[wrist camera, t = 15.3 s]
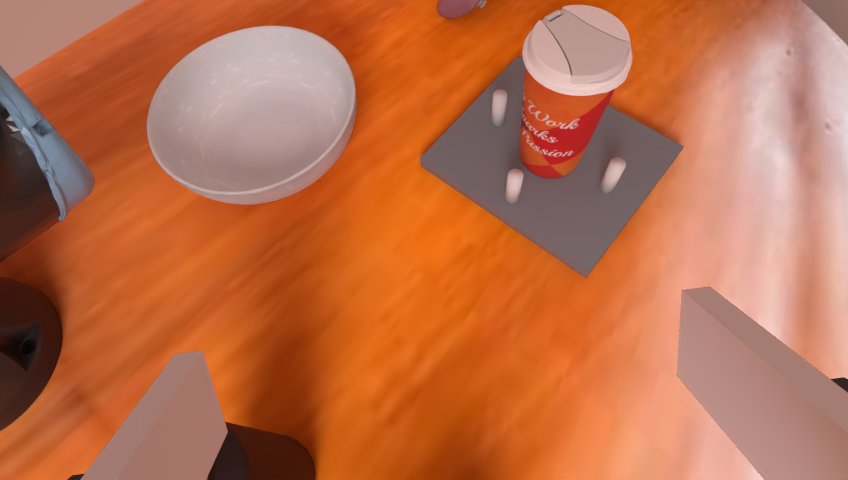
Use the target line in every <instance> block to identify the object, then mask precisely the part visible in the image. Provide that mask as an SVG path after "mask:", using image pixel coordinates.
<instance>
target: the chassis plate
mask: <svg viewBox="0 0 848 480" xmlns="http://www.w3.org/2000/svg"><path fill="white" fill-rule="evenodd" d="M524 79H525V64H524V61H523V58H521V57H520V56H517V57H516V58H515V59H514V60H513V62H512V63H511V64H510V65H509V66H508V67H507V68H506V69H505V70H504V71H503V72H502V73H501V74H500V75H499V76H498V77H497V78H496V79H495V80H494V81H493V82H492V83H491V85H490V86H489V87H488V88H487V89H486V90H485V91H484V92H483V93H482V94H481V95H480V96H479V97H478V98H477V99H476V100H475V101H474V102H473V103H472V104H471V105H470V106H469V107H468V109H467V110H466V111H465V112H464V113H463V114H462V115H461V116H460V117H459V118H458V119H457V120H456V121H455V122H454V123H453V124H452V125H451V126H450V127H449V128H448V129H447V130H446V132H445V133H444V134H443V135H442V136H441V137H440V138H439V139H438V140H437V141H436V142H435V143H434V144H433V145H432V146H431V147H430V148H429V149H428V150H427V151H426V152H425V153H424V154H423V156H422V157H421V158H420V162H421V166H422V167H423V168H425V169H426V170H428V171H429V172H430V173H432V174H433V175H435V176H436V177H438V178H439V179H441V180H442V181H444V182H445V183H447V184H448V185H450V186H451V187H453V188H454V189H456V190H457V191H459V192H460V193H462V194H463V195H464V196H466V197H467V198H469V199H470V200H472V201H473V202H475V203H476V204H478V205H479V206H481V207H482V208H484V209H485V210H487V211H488V212H490V213H491V214H493V215H494V216H495V217H497V218H498V219H500V220H501V221H503V222H504V223H506V224H507V225H509V226H510V227H512V228H513V229H515V230H516V231H518V232H519V233H521V234H522V235H524V236H525V237H526V238H528V239H529V240H531V241H532V242H534V243H535V244H537V245H538V246H540V247H541V248H543V249H544V250H546V251H547V252H549V253H550V254H552V255H553V256H555V257H556V258H558V259H559V260H560V261H562V262H563V263H565V264H566V265H568V266H569V267H571V268H572V269H574V270H575V271H577V272H578V273H580V274H581V275H583V276H584V277H587V276H588V275H589V273H590V272H591V271H592V269H593V268H594V267H595V265H596V264H597V263H598V261H599V260H600V259H601V257H602V256H603V255H604V253H605V252H606V251H607V249H608V248H609V247H610V245H611V244H612V243H613V241H614V240H615V239H616V237H617V236H618V235H619V233H620V232H621V231H622V229H623V228H624V227H625V225H626V224H627V223H628V221H629V220H630V219H631V217H632V216H633V215H634V213H635V212H636V211H637V209H638V208H639V207H640V205H641V204H642V203H643V201H644V200H645V199H646V197H647V196H648V195H649V193H650V192H651V191H652V189H653V188H654V187H655V185H656V184H657V183H658V181H659V180H660V179H661V177H662V176H663V175H664V173H665V172H666V171H667V169H668V168H669V167H670V165H671V164H672V163H673V161H674V160H675V159H676V157H677V156H678V155H679V153H680V152H681V150H682V149H683V147H684V146H682V145H680V144H679V143H677V142H675V141H673V140H671V139H669V138H668V137H666V136H664V135H662V134H660V133H658V132H657V131H655V130H653V129H651V128H649V127H648V126H646V125H644V124H642V123H640V122H638V121H637V120H635V119H633V118H631V117H629V116H627V115H626V114H624V113H622V112H620V111H618V110H616V109H615V108H613V107H611V106H609V105H607V107H606V109H605V111H604V113H603V115H602V117H601V119H600V121H599V123H598V125H597V127H596V129H595V131H594V133H593V135H592V137H591V139H590V141H589V143H588V145H587V147H586V149H585V151H584V153H583V155H582V157H581V159H580V161H579V163H578V164H577V166H576V167H575V169H574V170H573V171H572V172H570V173H569V174H567V175H565V176H563V177H560V178H554V179H548V178H542V177H539V176H537V175H535V174H533V173H531V172H530V171H529V170H528V169H527V168H526V167H525V166H524V165H523V163H522V161H521V157H520V133H521V118H522V105H523V92H524Z"/></svg>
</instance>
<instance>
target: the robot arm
mask: <svg viewBox="0 0 848 480" xmlns="http://www.w3.org/2000/svg"><path fill="white" fill-rule="evenodd" d="M94 183H95V180H94V176H93V173H92V171H91V170H90V169H89V167H88V166H87V165H86V164H85V163H84V162H83V160H82V159H81V158H80V157H79V156H78V155H77V153H76V152H75V151H74V150H73V149H72V148H71V147H70V145H69V144H68V143H67V142H66V141H65V140H64V138H63V137H62V136H61V135H60V134H59V133H58V132H57V130H56V129H55V128H54V127H53V126H52V125H51V123H50V122H49V121H48V120H47V119H46V118H45V117H44V115H43V114H42V113H41V112H40V111H39V110H38V109H37V107H36V106H35V105H34V104H33V103H32V102H31V101H30V99H29V98H28V97H27V96H26V95H25V94H24V92H23V91H22V90H21V89H20V88H19V87H18V85H17V84H16V83H15V82H14V81H13V80H12V79H11V78H10V76H9V75H8V74H7V73H6V72H5V71H4V69H3V68H2V67H1V66H0V262H2V261H3V260H5V259H6V258H7V257H9V256H10V255H12V254H13V253H15V252H16V251H17V250H19V249H20V248H22V247H23V246H25V245H26V244H27V243H29V242H30V241H32V240H33V239H34V238H36V237H37V236H39V235H40V234H42V233H43V232H44V231H46V230H47V229H49V228H50V227H52V226H53V225H54V224H56V223H57V222H59V221H62V220H63V219H65V217H66V216H67V213H68V212H69V211H70V210H72V209H73V208H74V207H75V206H77V205H78V204H79V203H80V202H81V201H83V200H84V199H85V198H86V197H88V196H89V195H90V193H91V192H92V190H93V188H94ZM60 344H61V326H60V321H59V317H58V314H57V312H56V310H55V308H54V306H53V305H52V303H51V302H50V301H49V299H48V298H47V297H46V296H45V295H43V294H42V293H41V292H39V291H38V290H36V289H34V288H31V287H29V286H27V285H25V284H22V283H20V282H18V281H15V280H12V279H8V278H3V277H0V431H1V430H2V429H4V428H5V427H7V426H8V425H10V424H11V423H12V422H14V421H15V420H16V419H17V418H18V417H19V416H21V415H22V414H23V413H24V412H25V411H26V410H27V409H28V408H29V407H30V406H31V404H32V403H33V402H34V401H35V400H36V398H37V397H38V396H39V394H40V393H41V392H42V390H43V389H44V387H45V385H46V384H47V382H48V380H49V378H50V376H51V374H52V372H53V370H54V367H55V365H56V362H57V359H58V355H59V351H60ZM677 376H678V378H679V379H680V380H681V381H682V382H683V384H684V385H685V386H686V387H687V388H688V390H689V391H690V392H691V393H692V394H693V395H694V397H695V398H696V399H697V400H698V401H699V403H700V404H701V405H702V406H703V407H704V409H705V410H706V411H707V412H708V413H709V414H710V416H711V417H712V418H713V419H714V420H715V422H716V423H717V424H718V425H719V426H720V428H721V429H722V430H723V431H724V432H725V433H726V435H727V436H728V437H729V438H730V439H731V441H732V442H733V443H734V444H735V445H736V447H737V448H738V449H739V450H740V451H741V452H742V454H743V455H744V456H745V457H746V458H747V460H748V461H749V462H750V463H751V464H752V466H753V467H754V468H755V469H756V470H757V471H758V473H759V474H760V475H761V476H762V477H763V479H764V480H848V379H846V378H836V379H829V378H828V377H827V376H825V375H824V374H823V373H821V372H820V371H819V370H818V369H816V368H815V367H814V366H812V365H811V364H810V363H808V362H807V361H806V360H805V359H803V358H802V357H801V356H799V355H798V354H797V353H795V352H794V351H793V350H792V349H790V348H789V347H788V346H786V345H785V344H784V343H782V342H781V341H780V340H779V339H777V338H776V337H775V336H773V335H772V334H771V333H769V332H768V331H767V330H766V329H764V328H763V327H762V326H760V325H759V324H758V323H756V322H755V321H754V320H753V319H751V318H750V317H749V316H747V315H746V314H745V313H743V312H742V311H741V310H740V309H738V308H737V307H736V306H734V305H733V304H732V303H730V302H729V301H728V300H727V299H725V298H724V297H723V296H721V295H720V294H719V293H717V292H716V291H715V290H714V289H712V288H711V287H703V288H695V289H687V290H682V295H681V312H680V329H679V347H678V364H677ZM227 433H228V430H227V427H226V424H225V421H224V418H223V414H222V411H221V408H220V405H219V402H218V398H217V395H216V392H215V389H214V386H213V382H212V379H211V376H210V373H209V370H208V366H207V363H206V360H205V357H204V354H203V351H196V352H188V353H180V354H175V355H174V356H173V357H172V359H171V360H170V361H169V362H168V364H167V365H166V366H165V368H164V369H163V370H162V372H161V373H160V374H159V376H158V377H157V378H156V380H155V381H154V382H153V384H152V385H151V386H150V388H149V389H148V390H147V392H146V393H145V394H144V396H143V397H142V398H141V400H140V401H139V402H138V404H137V405H136V406H135V408H134V409H133V410H132V412H131V413H130V414H129V416H128V417H127V418H126V420H125V421H124V422H123V424H122V425H121V426H120V428H119V429H118V430H117V432H116V433H115V434H114V436H113V437H112V438H111V440H110V441H109V442H108V444H107V445H106V446H105V448H104V449H103V450H102V452H101V453H100V454H99V456H98V457H97V458H96V460H95V461H94V462H93V464H92V465H91V466H90V468H89V469H88V470H87V472H86V473H85V474H80V475H72V476H71V477H70V478H69V479H68V480H206V479H207V476H208V474H209V472H210V470H211V468H212V466H213V463H214V461H215V459H216V457H217V455H218V453H219V450H220V448H221V446H222V444H223V442H224V439H225V437H226V435H227Z"/></svg>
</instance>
